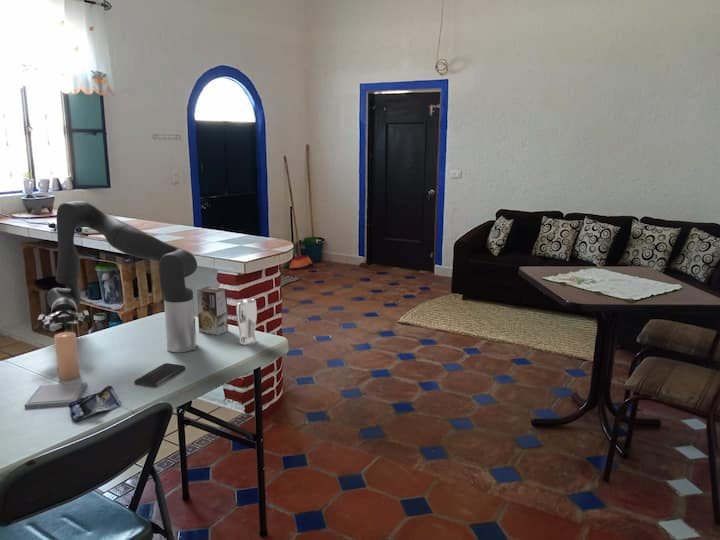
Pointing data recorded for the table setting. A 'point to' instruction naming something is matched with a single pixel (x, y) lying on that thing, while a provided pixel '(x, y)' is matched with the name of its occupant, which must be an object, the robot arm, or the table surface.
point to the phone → (159, 375)
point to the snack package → (94, 403)
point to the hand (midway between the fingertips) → (64, 325)
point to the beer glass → (246, 320)
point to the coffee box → (212, 310)
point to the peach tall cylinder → (67, 356)
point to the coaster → (56, 395)
